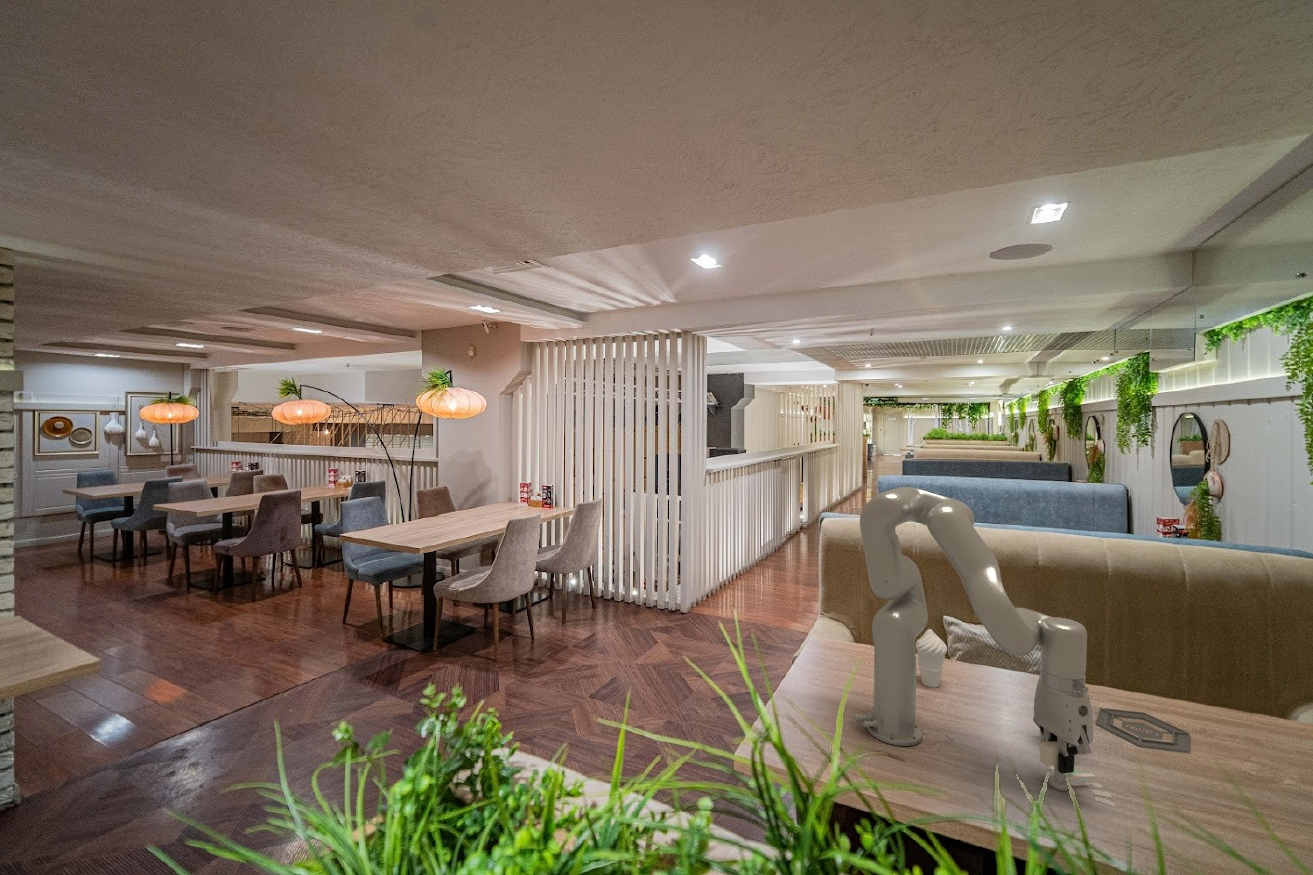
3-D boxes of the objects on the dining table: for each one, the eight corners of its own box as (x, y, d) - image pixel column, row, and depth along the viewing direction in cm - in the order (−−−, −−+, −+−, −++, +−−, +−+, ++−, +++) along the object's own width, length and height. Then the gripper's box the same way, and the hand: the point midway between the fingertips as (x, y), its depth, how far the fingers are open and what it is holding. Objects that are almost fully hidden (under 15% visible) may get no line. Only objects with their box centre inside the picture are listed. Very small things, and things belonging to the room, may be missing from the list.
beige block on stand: (1048, 791, 114) (1049, 748, 114) (1036, 781, 118) (1038, 739, 117) (1099, 790, 115) (1101, 747, 115) (1087, 779, 118) (1088, 738, 118)
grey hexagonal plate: (1093, 734, 138) (1093, 730, 138) (1101, 703, 153) (1102, 700, 153) (1189, 764, 127) (1189, 760, 127) (1189, 728, 141) (1189, 724, 141)
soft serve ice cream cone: (951, 691, 159) (953, 635, 158) (922, 691, 159) (923, 635, 158) (937, 677, 167) (938, 624, 167) (909, 677, 167) (910, 624, 167)
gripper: (1115, 698, 108) (1112, 791, 109) (1044, 662, 124) (1042, 743, 125) (1082, 701, 107) (1079, 795, 108) (1015, 664, 123) (1012, 746, 123)
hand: (1059, 766), depth 116 cm, fingers closed on beige block on stand, 2 cm apart
